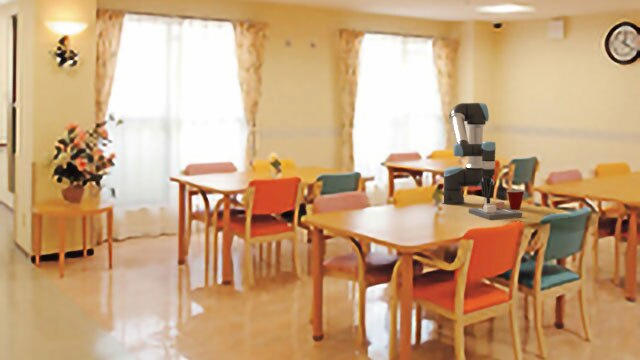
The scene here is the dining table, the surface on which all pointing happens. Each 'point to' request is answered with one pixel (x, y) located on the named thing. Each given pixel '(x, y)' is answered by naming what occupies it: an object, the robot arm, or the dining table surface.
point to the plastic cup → (515, 198)
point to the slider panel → (495, 213)
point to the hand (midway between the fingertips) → (487, 208)
